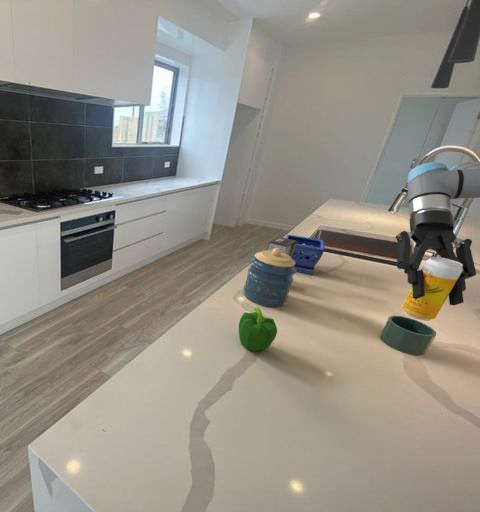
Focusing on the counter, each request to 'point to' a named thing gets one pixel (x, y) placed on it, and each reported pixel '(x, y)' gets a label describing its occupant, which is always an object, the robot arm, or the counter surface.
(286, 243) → the coffee box
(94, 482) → the counter surface
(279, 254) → the canister
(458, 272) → the yellow and white cup
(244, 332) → the bell pepper
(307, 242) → the flower pot
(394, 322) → the holder
